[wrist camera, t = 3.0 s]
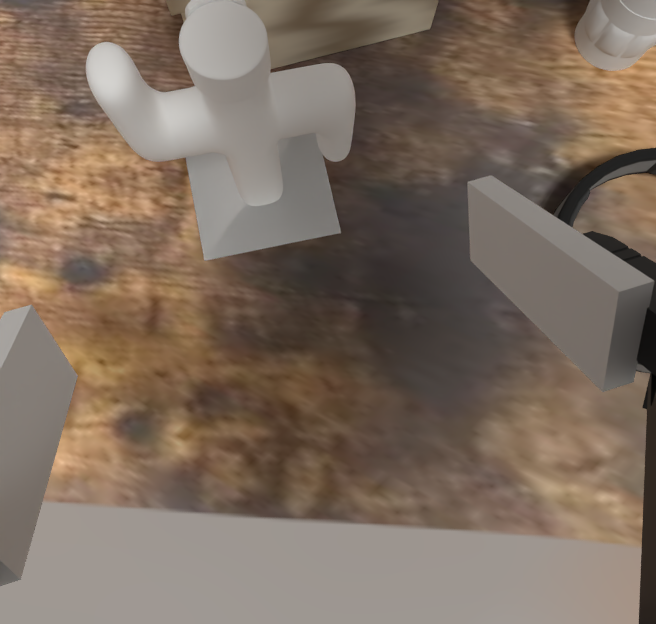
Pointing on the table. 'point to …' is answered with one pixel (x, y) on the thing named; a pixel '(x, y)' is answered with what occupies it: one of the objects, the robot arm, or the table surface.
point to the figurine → (237, 129)
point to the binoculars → (616, 32)
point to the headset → (614, 168)
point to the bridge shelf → (331, 24)
